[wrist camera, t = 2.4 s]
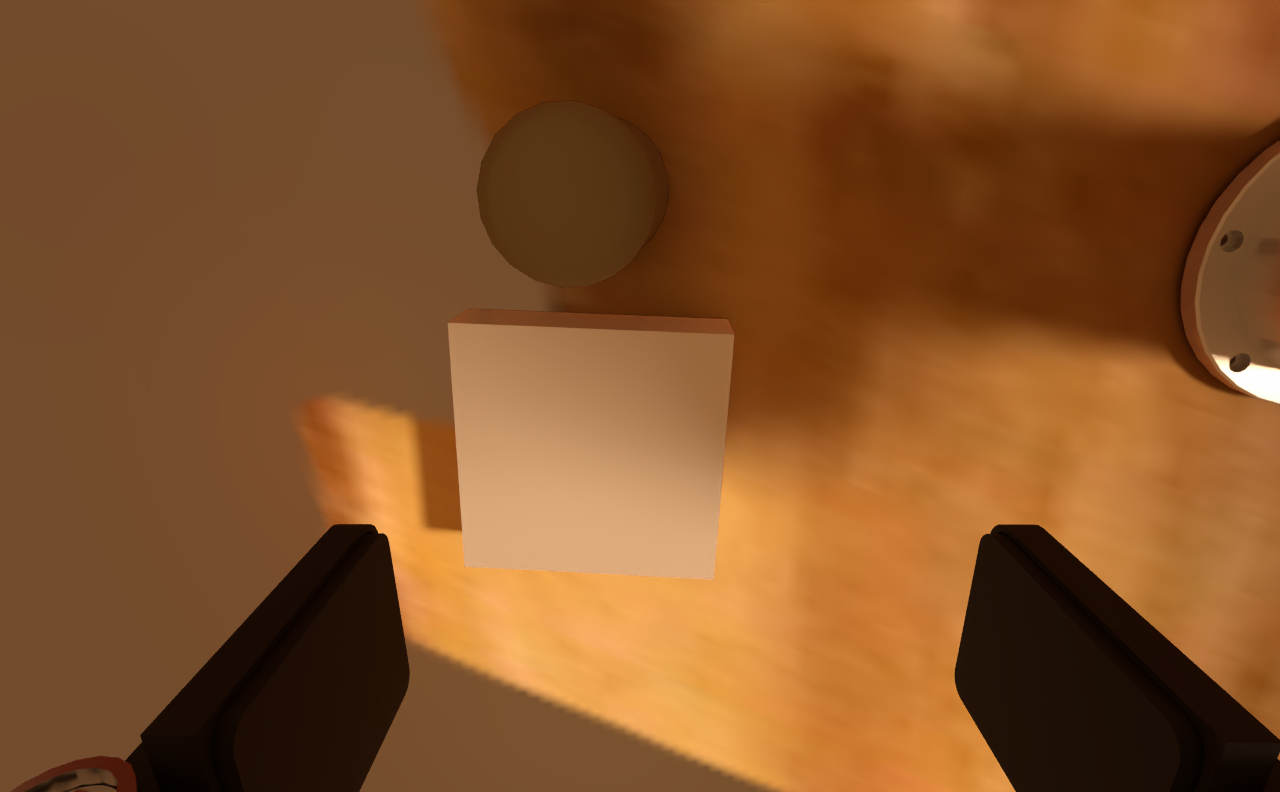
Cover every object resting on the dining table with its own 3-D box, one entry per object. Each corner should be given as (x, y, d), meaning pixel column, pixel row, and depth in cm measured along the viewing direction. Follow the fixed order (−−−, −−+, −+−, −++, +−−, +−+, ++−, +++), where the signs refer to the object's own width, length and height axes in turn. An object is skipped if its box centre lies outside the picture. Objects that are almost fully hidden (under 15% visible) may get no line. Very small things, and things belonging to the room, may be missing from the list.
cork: (653, 99, 26) (644, 48, 16) (681, 245, 28) (690, 287, 17) (513, 133, 27) (416, 106, 16) (550, 274, 28) (484, 330, 18)
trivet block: (468, 308, 29) (447, 322, 26) (727, 319, 29) (734, 334, 26) (482, 533, 33) (464, 566, 30) (709, 544, 33) (713, 579, 30)
